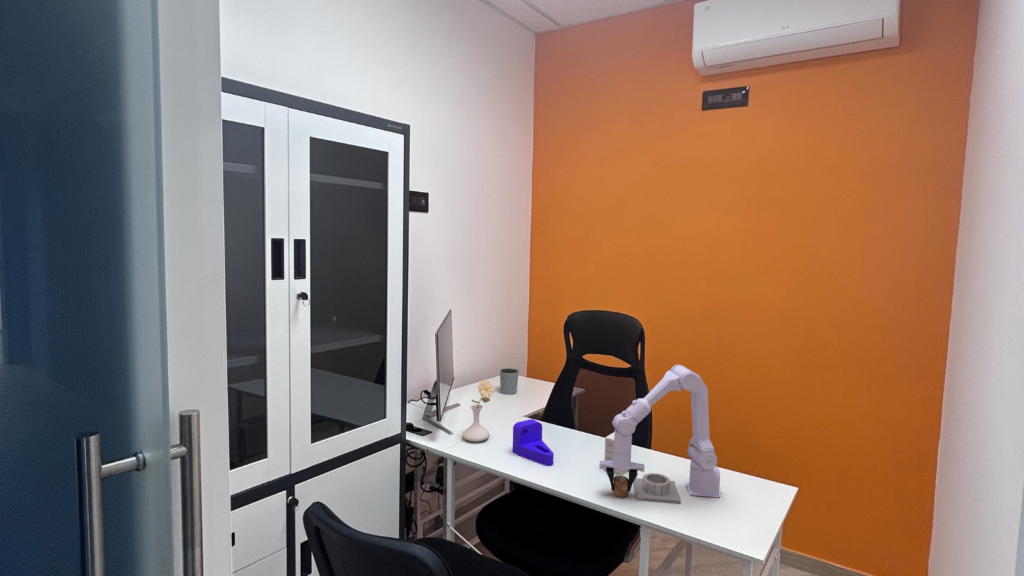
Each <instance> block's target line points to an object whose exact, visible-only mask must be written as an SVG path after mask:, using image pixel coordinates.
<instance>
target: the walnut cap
mask: <svg viewBox="0 0 1024 576" xmlns="http://www.w3.org/2000/svg"><path fill="white" fill-rule="evenodd" d="M628 482H629V477H627V476H625V475H622V476H621V475H614V491H613V492H612V494H613V495H612V496H614V497H616V498H619V499H626V498H627V497H628V496H629V492H628Z"/></svg>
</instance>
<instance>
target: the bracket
mask: <svg viewBox="0 0 1024 576" xmlns="http://www.w3.org/2000/svg"><path fill="white" fill-rule="evenodd" d="M512 453H514V454H516V455H517V456H518V457H521V458H524V459H526V460H529V461H531V462H535V463H537V464H540V465H543V466H546V467H552V466H554V452H553V451H552V449H551V448H550V447H549V446H548V445H547V443H545V442H544V441H543V423H541V422H539V421H537V420H535V419H534V418H530V419H526V420H521V421H517V422H515V423H514V425H513V427H512Z"/></svg>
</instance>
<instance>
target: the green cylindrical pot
mask: <svg viewBox="0 0 1024 576" xmlns="http://www.w3.org/2000/svg"><path fill="white" fill-rule="evenodd" d="M519 372H520V371H519V370H518V369H516V368H513V367H505V368H504V367H503V368H501V369H499V383H500V385H499V386H500V393H501V394H502V395H506V396H507V395H508V396H510V395H511V396H512V395H515V394H517V392H518V391H517V390H518V382H519V374H520V373H519Z"/></svg>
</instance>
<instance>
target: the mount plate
mask: <svg viewBox="0 0 1024 576" xmlns="http://www.w3.org/2000/svg"><path fill="white" fill-rule="evenodd" d="M642 485H643V478H638V477H636V478H635V480H634V482H633V489H634V492H635V493H634V494H635V497H636V501H642V502H656V503H664V504H665V503H666V504H676V505H677V504H679V505H681V504H682V499H681V498H680V495H679V491H678V488H677V485H676V482H675V480H670V492H669V493H668V494H666V495H653V494H650V493H648V492H646V491H644V490H643V487H642Z"/></svg>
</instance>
